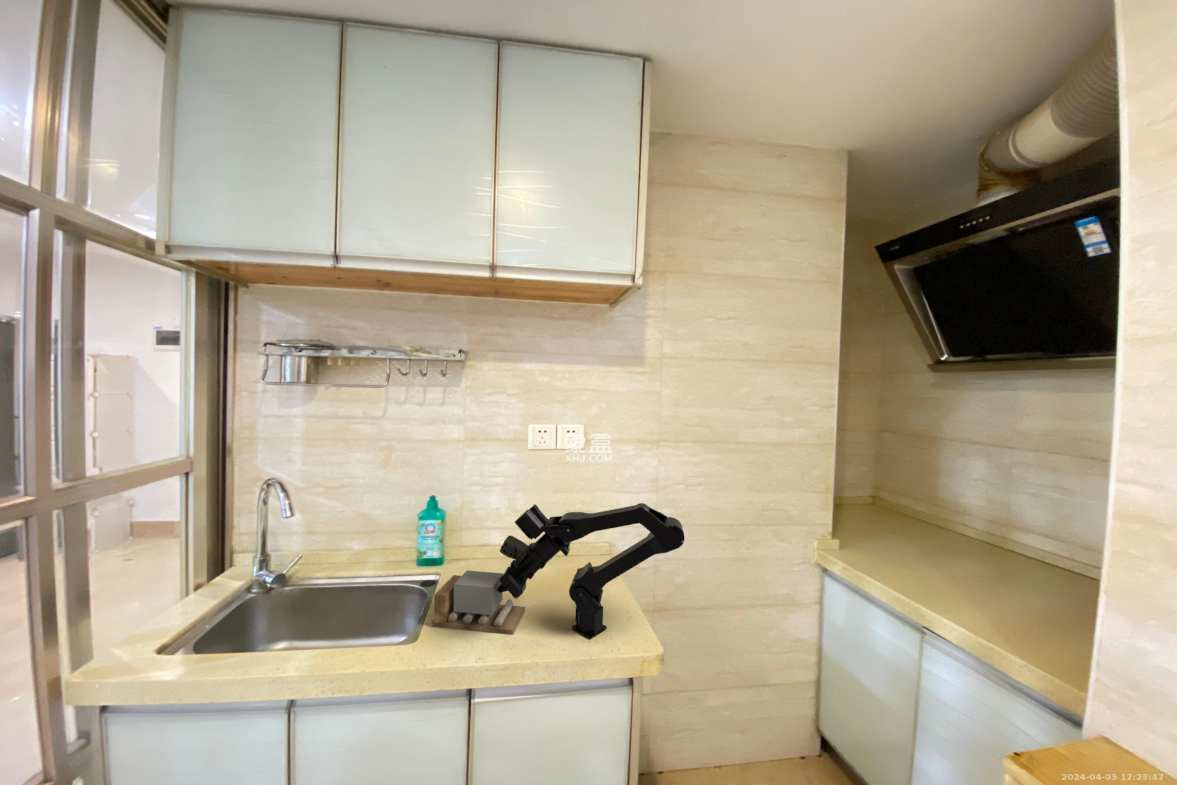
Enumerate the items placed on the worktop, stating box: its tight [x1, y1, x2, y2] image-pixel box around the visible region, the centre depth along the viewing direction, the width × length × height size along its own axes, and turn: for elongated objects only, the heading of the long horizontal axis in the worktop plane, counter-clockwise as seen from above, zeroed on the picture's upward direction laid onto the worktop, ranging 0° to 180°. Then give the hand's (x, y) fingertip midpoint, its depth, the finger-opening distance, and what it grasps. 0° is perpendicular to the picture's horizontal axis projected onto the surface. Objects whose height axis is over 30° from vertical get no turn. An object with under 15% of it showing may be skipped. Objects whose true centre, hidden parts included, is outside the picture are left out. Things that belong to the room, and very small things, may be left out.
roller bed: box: [430, 574, 526, 636], centre depth 114 cm, size 21×11×8 cm, turn 82°
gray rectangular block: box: [454, 570, 504, 615], centre depth 114 cm, size 10×8×7 cm
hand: (498, 590), depth 113 cm, fingers closed, pressing on gray rectangular block
